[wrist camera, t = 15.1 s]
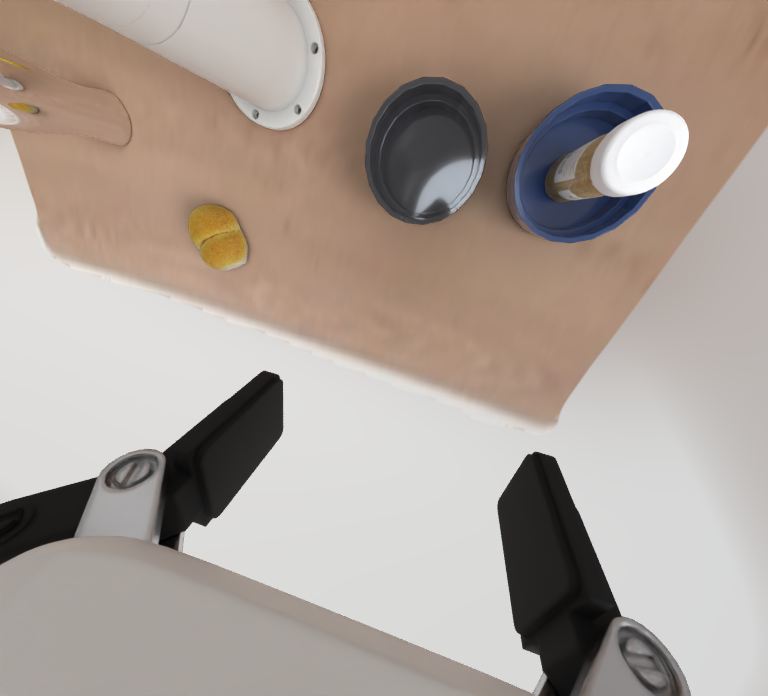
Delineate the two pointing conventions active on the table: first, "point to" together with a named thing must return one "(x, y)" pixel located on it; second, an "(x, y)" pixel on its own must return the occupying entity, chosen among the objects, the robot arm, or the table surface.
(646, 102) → the navy bowl
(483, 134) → the charcoal bowl
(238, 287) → the table surface
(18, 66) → the beer glass
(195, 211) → the bread roll
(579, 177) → the sprinkles bottle
